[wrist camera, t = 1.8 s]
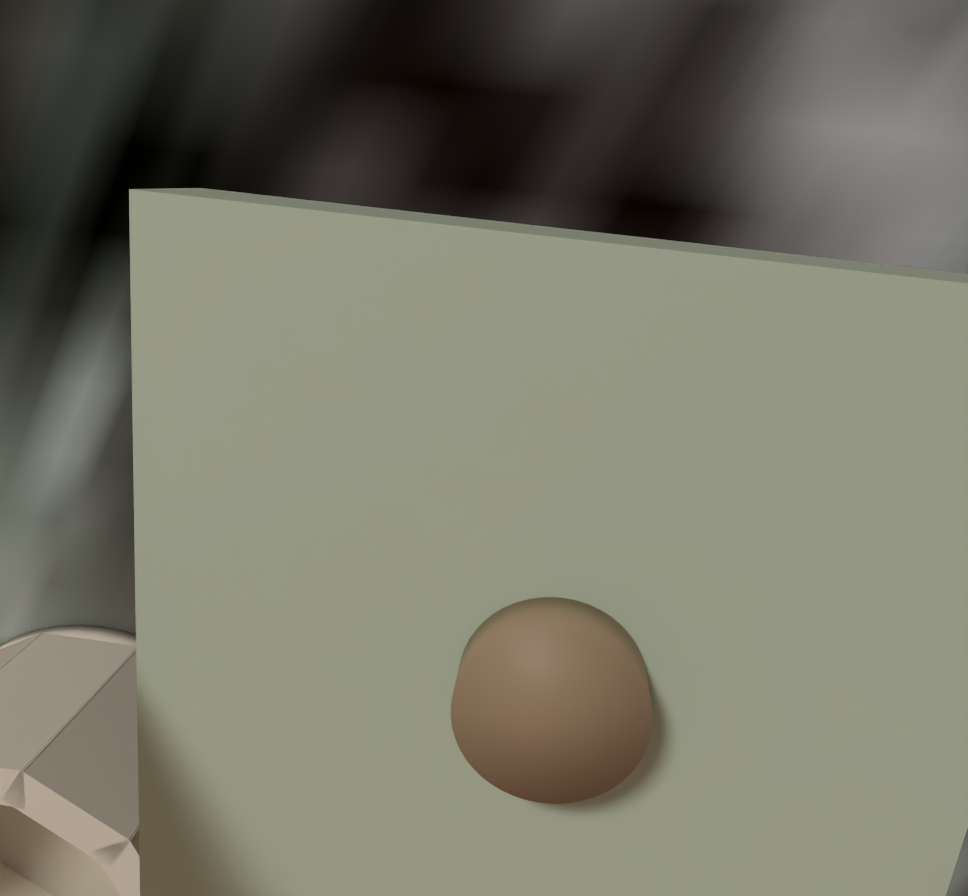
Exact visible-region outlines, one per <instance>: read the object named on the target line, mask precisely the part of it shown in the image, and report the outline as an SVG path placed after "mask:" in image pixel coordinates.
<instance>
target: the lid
mask: <svg viewBox="0 0 968 896" xmlns="http://www.w3.org/2000/svg"><path fill="white" fill-rule="evenodd" d="M129 217H130V281H131V346H132V410H133V474H134V538H135V603H136V667H137V731H138V796H139V860H140V896H946V894H947V890H948V887H949V884H950V881H951V878H952V875H953V872H954V869H955V866H956V862H957V859H958V856H959V853H960V850H961V847H962V844H963V841H964V838H965V835H966V831H967V828H968V274H966V273H957V272H948V271H939V270H930V269H921V268H912V267H903V266H894V265H885V264H876V263H867V262H858V261H849V260H840V259H832V258H823V257H814V256H805V255H796V254H787V253H778V252H769V251H760V250H751V249H742V248H733V247H724V246H715V245H706V244H697V243H688V242H679V241H670V240H661V239H652V238H643V237H634V236H625V235H616V234H607V233H598V232H590V231H581V230H572V229H563V228H554V227H545V226H536V225H527V224H518V223H509V222H500V221H491V220H482V219H473V218H464V217H455V216H446V215H437V214H428V213H419V212H410V211H401V210H392V209H383V208H374V207H365V206H357V205H348V204H339V203H330V202H321V201H312V200H303V199H294V198H285V197H276V196H267V195H258V194H249V193H240V192H231V191H222V190H213V189H204V188H174V189H129Z"/></svg>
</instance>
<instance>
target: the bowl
mask: <svg viewBox="0 0 968 896" xmlns="http://www.w3.org/2000/svg"><path fill="white" fill-rule="evenodd" d="M0 896H140V860H139V796H138V731H137V667H136V634H133V633H130V632H127V631H123V630H118V629H113V628H108V627H102V626H90V625H62V626H54V627H48V628H42V629H37V630H34V631H31V632H28V633H24V634H21V635H18V636H16V637H14V638H12V639H10V640H8V641H6V642H4V643H2V644H0Z"/></svg>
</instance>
